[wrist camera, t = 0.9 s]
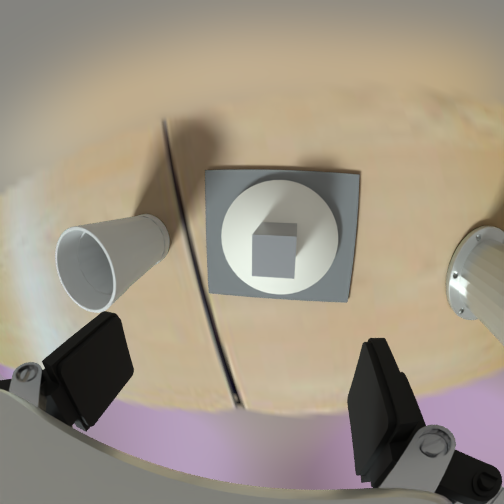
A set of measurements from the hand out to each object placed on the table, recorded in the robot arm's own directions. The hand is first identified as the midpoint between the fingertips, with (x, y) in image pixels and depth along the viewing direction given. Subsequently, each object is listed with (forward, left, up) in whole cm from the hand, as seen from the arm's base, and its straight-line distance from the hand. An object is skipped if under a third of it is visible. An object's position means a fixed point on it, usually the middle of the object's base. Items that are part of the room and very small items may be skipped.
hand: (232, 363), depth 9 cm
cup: (+16, +1, -21) cm, 26 cm away
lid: (0, 0, -20) cm, 20 cm away
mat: (0, 0, -21) cm, 21 cm away
